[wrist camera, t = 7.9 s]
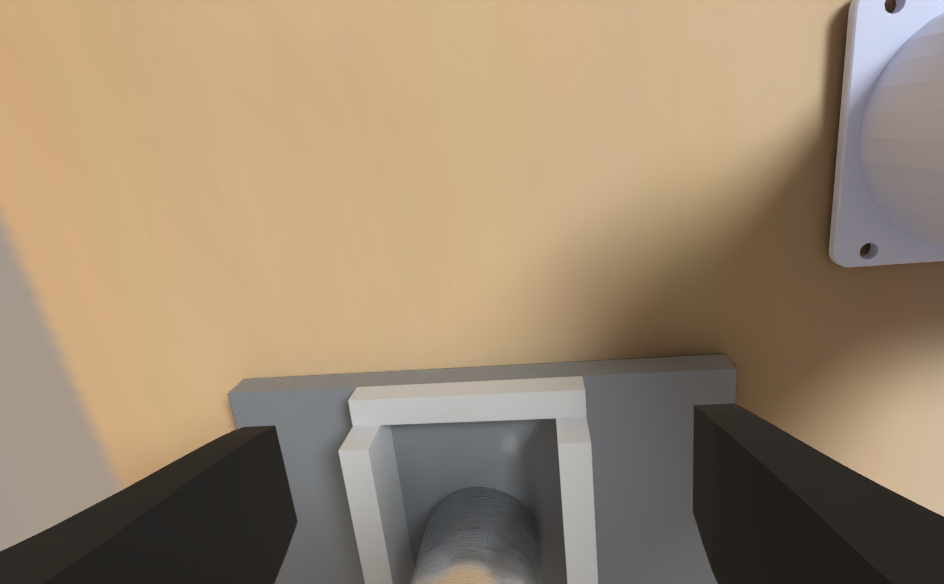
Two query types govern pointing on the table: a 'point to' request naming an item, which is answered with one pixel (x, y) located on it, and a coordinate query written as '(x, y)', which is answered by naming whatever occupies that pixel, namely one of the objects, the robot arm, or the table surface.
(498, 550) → the spout can
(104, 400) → the table surface
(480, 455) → the grey framed base plate
